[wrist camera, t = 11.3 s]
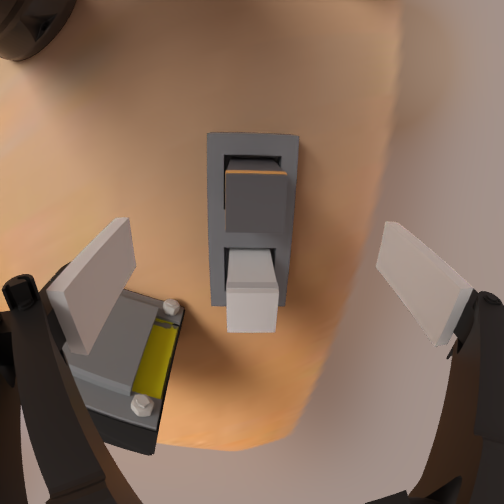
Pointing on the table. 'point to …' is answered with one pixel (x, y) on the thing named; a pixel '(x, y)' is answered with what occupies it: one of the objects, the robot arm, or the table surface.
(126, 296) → the electrical component
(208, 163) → the pdu strip
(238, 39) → the table surface
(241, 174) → the plug
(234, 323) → the white rectangular block
